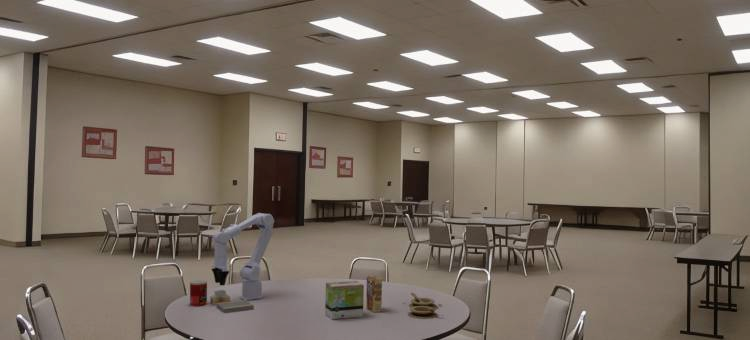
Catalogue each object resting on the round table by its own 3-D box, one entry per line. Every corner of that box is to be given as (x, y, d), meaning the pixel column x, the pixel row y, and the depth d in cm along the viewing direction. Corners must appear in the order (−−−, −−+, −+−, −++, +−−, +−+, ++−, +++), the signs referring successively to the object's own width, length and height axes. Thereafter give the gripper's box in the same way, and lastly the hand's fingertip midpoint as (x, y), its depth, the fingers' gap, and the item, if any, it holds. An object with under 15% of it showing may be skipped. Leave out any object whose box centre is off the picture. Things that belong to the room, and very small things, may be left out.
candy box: (382, 311, 264) (382, 278, 264) (374, 312, 262) (374, 279, 262) (374, 307, 272) (374, 275, 272) (365, 308, 270) (366, 276, 270)
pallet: (226, 301, 283) (226, 294, 283) (229, 303, 279) (229, 296, 279) (210, 303, 279) (210, 296, 279) (213, 305, 274) (213, 298, 274)
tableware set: (402, 304, 282) (402, 292, 282) (442, 305, 280) (442, 293, 280) (400, 319, 252) (401, 306, 252) (445, 320, 251) (445, 307, 251)
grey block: (223, 295, 281) (223, 289, 281) (225, 296, 278) (225, 291, 278) (214, 296, 279) (214, 290, 279) (216, 297, 276) (216, 292, 276)
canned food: (202, 306, 272) (202, 283, 272) (186, 305, 273) (186, 283, 273) (209, 303, 279) (209, 280, 279) (195, 302, 281) (195, 280, 281)
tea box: (332, 320, 248) (332, 286, 248) (324, 314, 258) (325, 282, 258) (363, 316, 254) (364, 283, 254) (355, 311, 264) (355, 279, 264)
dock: (245, 304, 277) (245, 299, 277) (253, 309, 267) (253, 304, 267) (216, 307, 270) (216, 303, 270) (224, 313, 260) (224, 308, 260)
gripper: (208, 254, 283) (207, 282, 283) (216, 258, 271) (216, 287, 270) (222, 254, 287) (221, 281, 286) (231, 257, 274) (230, 285, 274)
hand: (219, 283), depth 279 cm, fingers open, 7 cm apart
